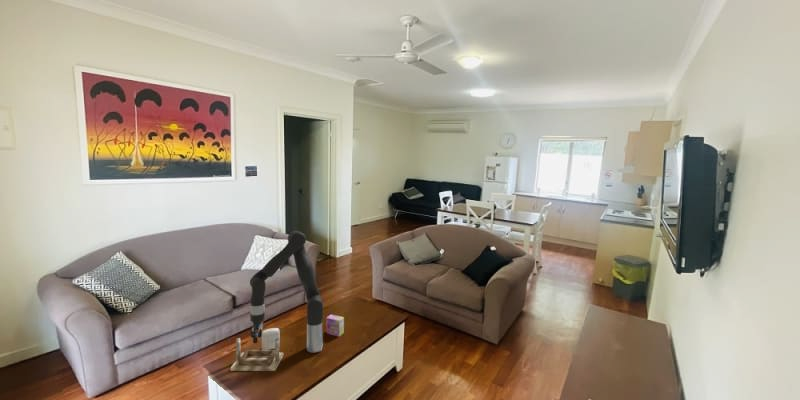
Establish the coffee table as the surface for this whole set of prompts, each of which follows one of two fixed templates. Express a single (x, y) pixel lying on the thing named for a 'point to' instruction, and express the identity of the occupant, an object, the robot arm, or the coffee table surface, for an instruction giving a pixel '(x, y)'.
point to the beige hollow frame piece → (256, 359)
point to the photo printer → (270, 338)
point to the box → (335, 325)
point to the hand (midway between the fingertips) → (257, 339)
